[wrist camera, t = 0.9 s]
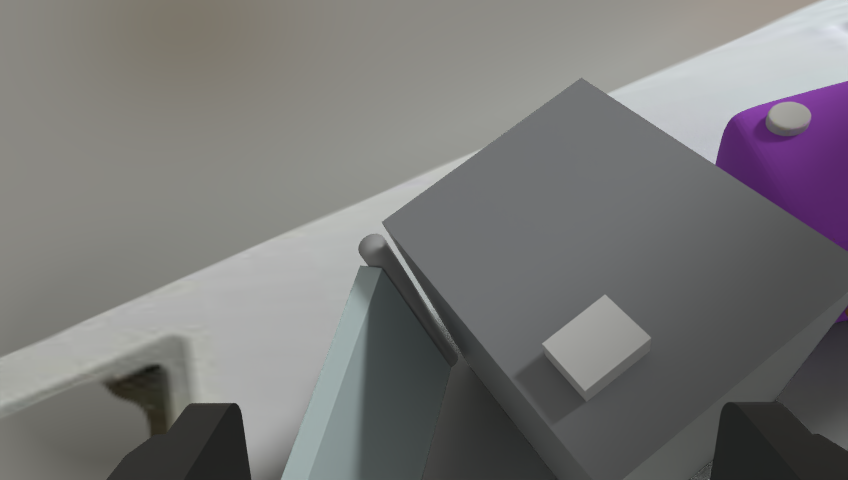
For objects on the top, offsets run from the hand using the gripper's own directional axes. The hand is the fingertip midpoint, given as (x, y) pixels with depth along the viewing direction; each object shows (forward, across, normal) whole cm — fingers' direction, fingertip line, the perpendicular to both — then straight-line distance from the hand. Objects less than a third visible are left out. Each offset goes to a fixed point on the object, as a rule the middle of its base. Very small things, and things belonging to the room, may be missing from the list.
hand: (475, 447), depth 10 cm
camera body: (+21, -7, +11) cm, 25 cm away
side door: (+18, +2, +15) cm, 23 cm away
